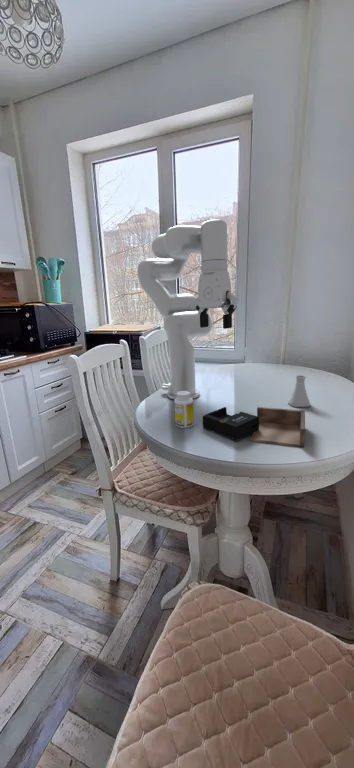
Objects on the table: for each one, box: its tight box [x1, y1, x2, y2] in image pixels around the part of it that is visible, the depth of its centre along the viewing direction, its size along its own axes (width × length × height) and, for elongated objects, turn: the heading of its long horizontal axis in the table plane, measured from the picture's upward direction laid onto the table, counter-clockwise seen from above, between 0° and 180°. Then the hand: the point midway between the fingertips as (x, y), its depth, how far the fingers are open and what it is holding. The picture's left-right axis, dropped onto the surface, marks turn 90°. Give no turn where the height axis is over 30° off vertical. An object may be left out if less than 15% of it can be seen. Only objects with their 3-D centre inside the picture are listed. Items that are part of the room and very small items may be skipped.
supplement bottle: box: [173, 391, 195, 429], centre depth 95 cm, size 6×6×10 cm
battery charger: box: [202, 406, 259, 442], centre depth 90 cm, size 13×10×4 cm
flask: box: [288, 374, 311, 408], centre depth 108 cm, size 7×7×10 cm
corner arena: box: [250, 406, 306, 448], centre depth 87 cm, size 13×13×5 cm
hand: (215, 327), depth 97 cm, fingers open, 9 cm apart
